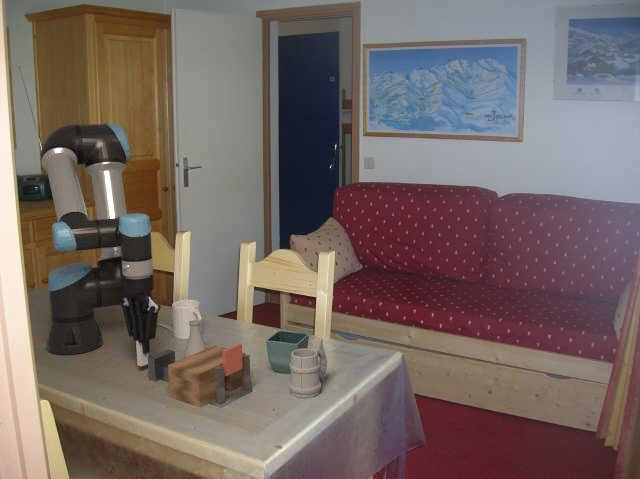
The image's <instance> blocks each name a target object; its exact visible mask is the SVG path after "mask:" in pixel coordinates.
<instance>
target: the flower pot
mask: <svg viewBox="0 0 640 479" xmlns="http://www.w3.org/2000/svg"><path fill="white" fill-rule="evenodd" d="M309 338H310V334H309V333H305V332H297V331H296V332H295V331H289V330H277V331H276V332H274V333H273V334H272V335H271V336H269V337H268V338H267V339H266V340H265V344H266V345H265V346H266V353H267V358H268V361H269V363H270V365H271V367H272V369H273V371H275V372H277V373H283V374H284V373H285V374H290V375H291V370H290V363H291V353H292V352H293V351H294V350H297V349H304V348H307V349H309V348H308V347H309Z"/></svg>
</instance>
